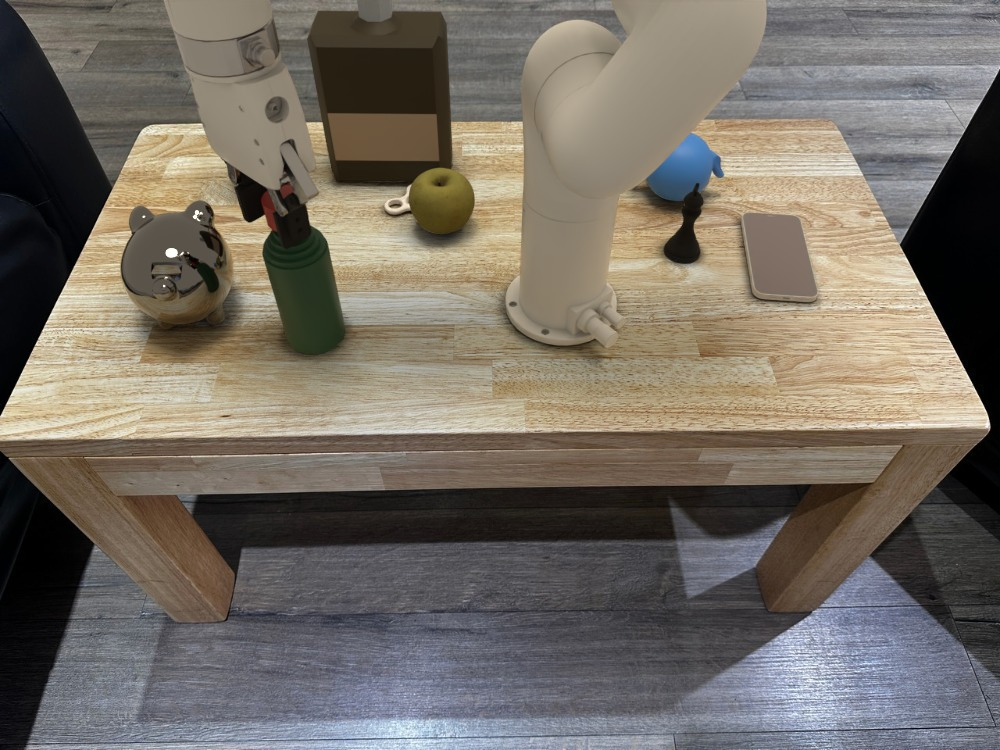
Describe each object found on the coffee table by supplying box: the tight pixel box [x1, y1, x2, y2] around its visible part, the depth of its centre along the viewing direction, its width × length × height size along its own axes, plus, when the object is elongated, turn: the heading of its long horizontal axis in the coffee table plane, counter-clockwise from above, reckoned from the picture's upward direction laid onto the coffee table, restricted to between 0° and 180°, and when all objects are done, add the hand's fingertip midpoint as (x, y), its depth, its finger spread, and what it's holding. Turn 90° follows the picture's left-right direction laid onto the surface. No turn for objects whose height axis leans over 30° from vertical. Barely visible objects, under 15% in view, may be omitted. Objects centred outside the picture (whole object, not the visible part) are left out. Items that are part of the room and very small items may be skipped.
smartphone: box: [740, 211, 819, 303], centre depth 95 cm, size 7×1×15 cm
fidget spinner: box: [383, 183, 412, 215], centre depth 101 cm, size 7×6×1 cm
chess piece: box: [663, 183, 705, 264], centre depth 92 cm, size 4×4×10 cm
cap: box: [261, 185, 310, 232], centre depth 74 cm, size 4×4×3 cm
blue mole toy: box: [644, 132, 725, 202], centre depth 101 cm, size 12×12×8 cm
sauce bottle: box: [261, 224, 346, 355], centre depth 80 cm, size 6×6×18 cm
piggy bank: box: [119, 199, 234, 330], centre depth 85 cm, size 11×15×12 cm
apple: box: [408, 168, 476, 235], centre depth 96 cm, size 8×8×7 cm
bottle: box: [306, 0, 454, 183], centre depth 97 cm, size 8×16×25 cm, turn 90°
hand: (277, 226), depth 75 cm, fingers open, 5 cm apart
